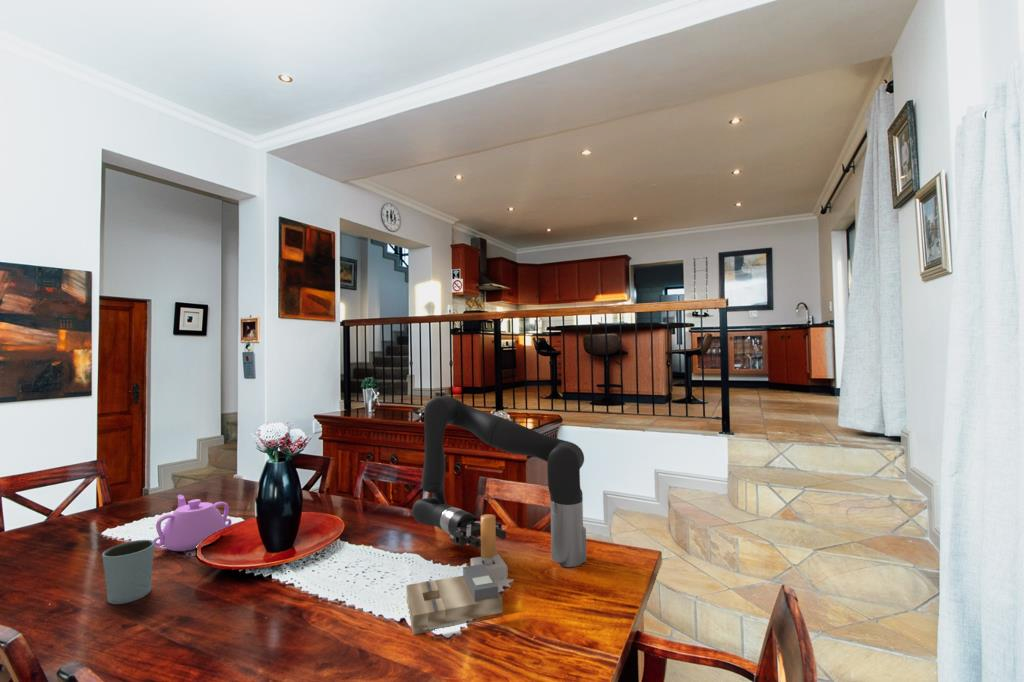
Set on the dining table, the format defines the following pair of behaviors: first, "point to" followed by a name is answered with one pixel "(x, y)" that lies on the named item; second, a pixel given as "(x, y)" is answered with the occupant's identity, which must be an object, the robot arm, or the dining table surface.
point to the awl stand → (493, 567)
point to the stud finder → (480, 582)
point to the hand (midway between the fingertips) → (492, 539)
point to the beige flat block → (446, 604)
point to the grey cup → (128, 570)
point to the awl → (488, 538)
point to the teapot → (190, 524)
